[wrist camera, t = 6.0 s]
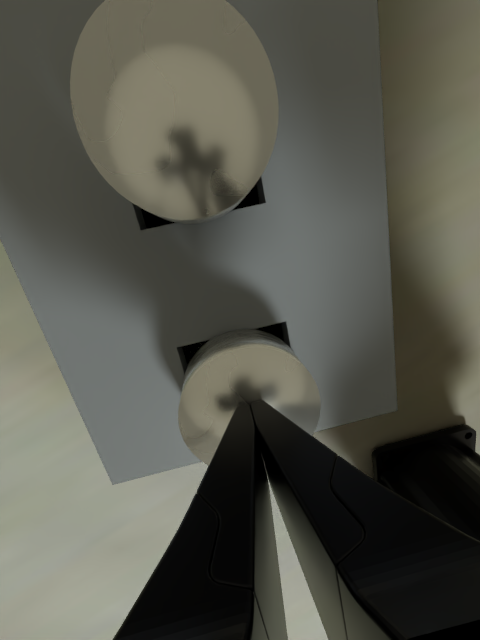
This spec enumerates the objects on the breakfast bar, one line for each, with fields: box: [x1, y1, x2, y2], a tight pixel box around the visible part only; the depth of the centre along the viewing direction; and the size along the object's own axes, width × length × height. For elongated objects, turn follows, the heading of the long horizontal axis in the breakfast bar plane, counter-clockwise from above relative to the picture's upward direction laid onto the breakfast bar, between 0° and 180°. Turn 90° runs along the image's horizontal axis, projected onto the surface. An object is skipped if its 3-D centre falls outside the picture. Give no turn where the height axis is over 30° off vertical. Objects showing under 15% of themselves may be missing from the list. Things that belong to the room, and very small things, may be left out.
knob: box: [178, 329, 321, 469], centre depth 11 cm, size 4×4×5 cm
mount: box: [0, 0, 397, 485], centre depth 10 cm, size 12×22×4 cm, turn 12°
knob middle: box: [70, 0, 279, 224], centre depth 8 cm, size 4×4×5 cm
